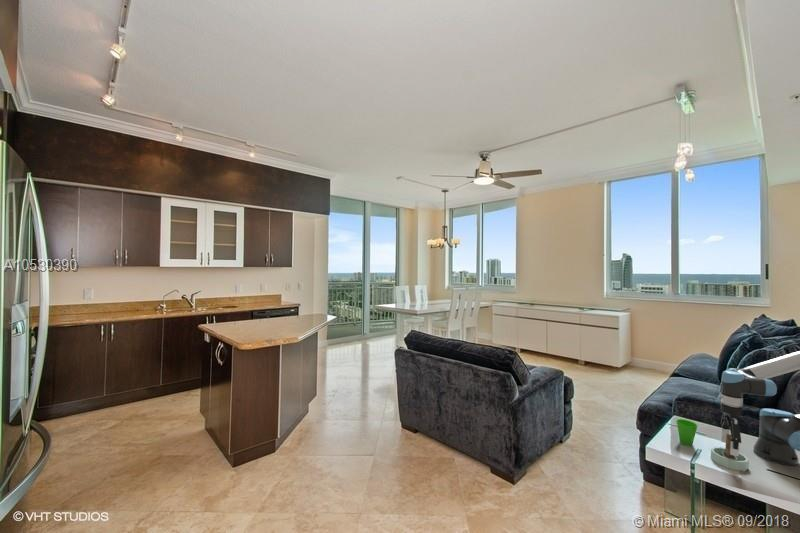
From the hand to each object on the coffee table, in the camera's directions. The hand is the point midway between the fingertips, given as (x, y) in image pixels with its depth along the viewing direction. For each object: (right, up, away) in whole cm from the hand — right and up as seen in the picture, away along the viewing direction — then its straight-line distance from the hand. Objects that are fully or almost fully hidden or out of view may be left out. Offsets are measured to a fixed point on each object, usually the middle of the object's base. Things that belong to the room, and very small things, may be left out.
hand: (729, 448), depth 166 cm
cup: (-6, -7, +17) cm, 20 cm away
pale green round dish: (0, -7, 0) cm, 7 cm away
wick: (0, -6, 0) cm, 6 cm away
